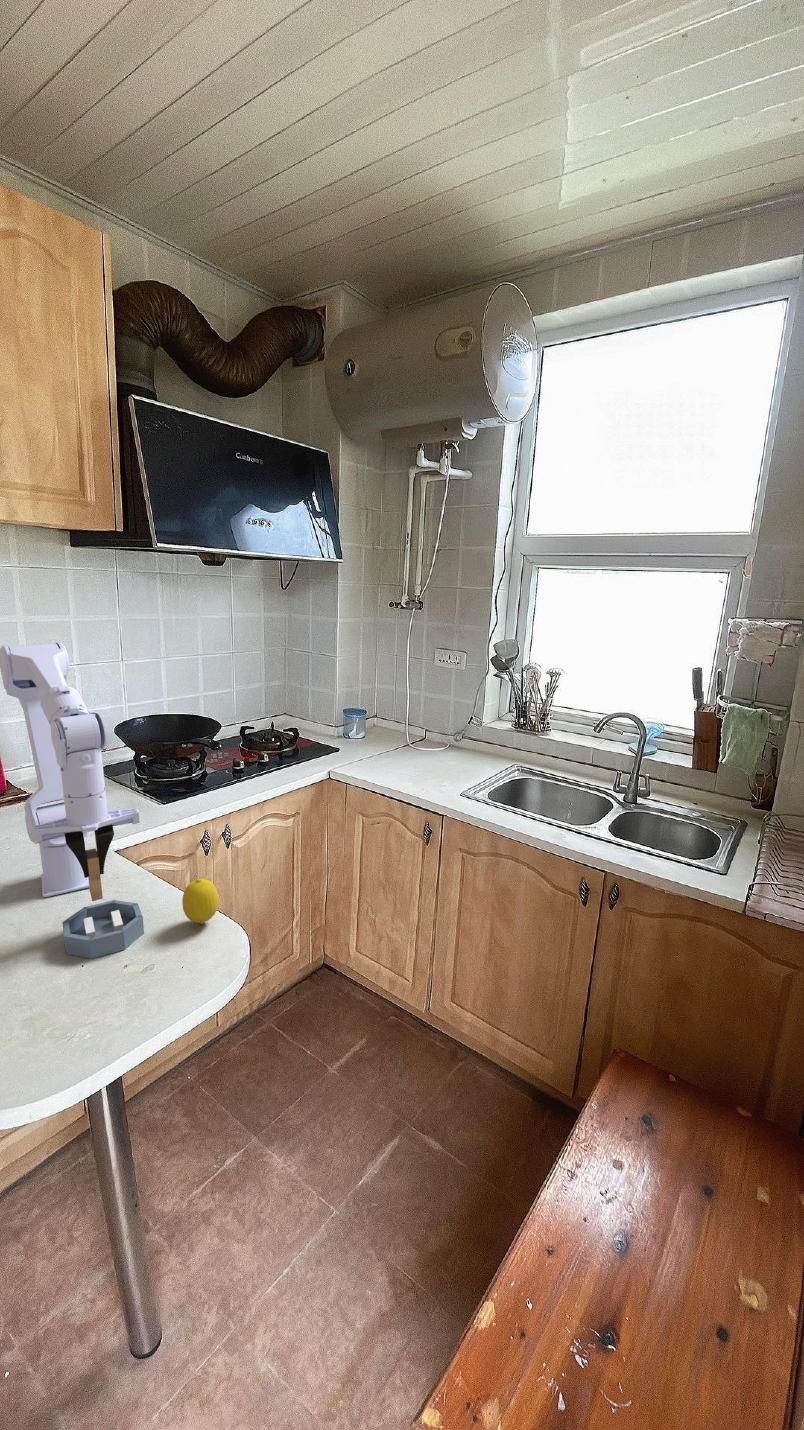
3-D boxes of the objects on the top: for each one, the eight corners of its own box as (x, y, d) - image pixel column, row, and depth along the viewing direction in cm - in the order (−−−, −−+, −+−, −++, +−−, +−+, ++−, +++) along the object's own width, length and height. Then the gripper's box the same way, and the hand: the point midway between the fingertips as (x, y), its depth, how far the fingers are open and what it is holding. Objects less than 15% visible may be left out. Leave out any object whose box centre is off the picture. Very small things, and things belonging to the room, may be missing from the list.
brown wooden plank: (89, 890, 97) (85, 850, 96) (100, 887, 98) (95, 848, 97) (92, 901, 94) (87, 859, 93) (102, 898, 95) (98, 857, 93)
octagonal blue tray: (63, 929, 96) (61, 912, 96) (136, 910, 102) (135, 894, 101) (67, 965, 87) (65, 947, 87) (147, 943, 93) (146, 925, 92)
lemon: (223, 914, 101) (220, 870, 100) (214, 932, 96) (211, 886, 94) (190, 914, 101) (186, 870, 99) (179, 933, 96) (175, 887, 94)
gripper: (29, 808, 85) (41, 896, 88) (139, 791, 93) (146, 872, 96) (29, 794, 91) (40, 876, 94) (132, 778, 99) (139, 855, 102)
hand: (93, 873), depth 95 cm, fingers closed on brown wooden plank, 1 cm apart
